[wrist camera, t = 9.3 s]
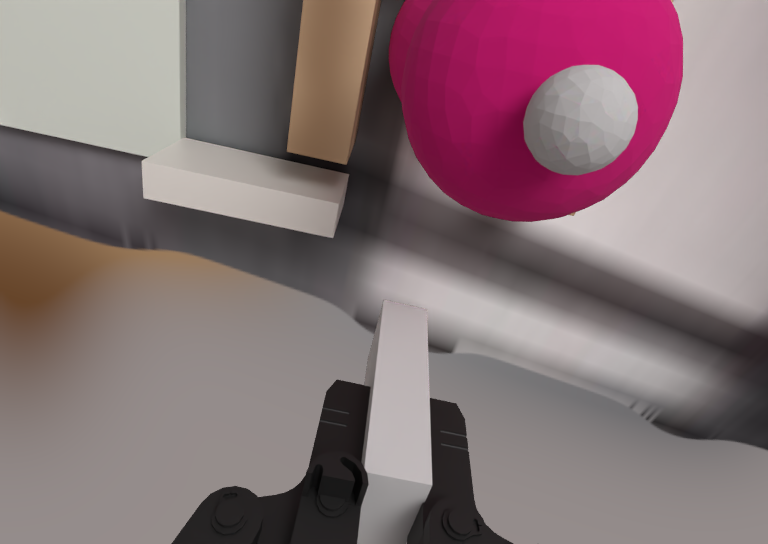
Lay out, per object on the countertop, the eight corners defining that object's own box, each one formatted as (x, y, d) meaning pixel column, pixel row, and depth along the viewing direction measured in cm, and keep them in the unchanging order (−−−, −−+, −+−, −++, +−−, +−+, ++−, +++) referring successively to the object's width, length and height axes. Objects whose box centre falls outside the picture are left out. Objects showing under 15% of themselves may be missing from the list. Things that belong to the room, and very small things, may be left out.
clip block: (664, -101, 21) (733, -131, 17) (546, 184, 28) (573, 215, 23) (346, -191, 20) (330, -249, 15) (305, 129, 27) (286, 151, 22)
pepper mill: (544, -20, 23) (1017, -137, 5) (505, 127, 26) (709, 348, 9) (401, -43, 22) (399, -247, 5) (382, 108, 26) (340, 298, 9)
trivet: (185, -54, 22) (178, -56, 22) (186, 160, 28) (180, 164, 27) (-47, -113, 22) (-61, -117, 21) (0, 119, 27) (-10, 122, 26)
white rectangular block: (349, 174, 28) (339, 203, 23) (343, 204, 29) (332, 238, 24) (184, 137, 27) (141, 160, 22) (184, 169, 28) (143, 198, 23)
